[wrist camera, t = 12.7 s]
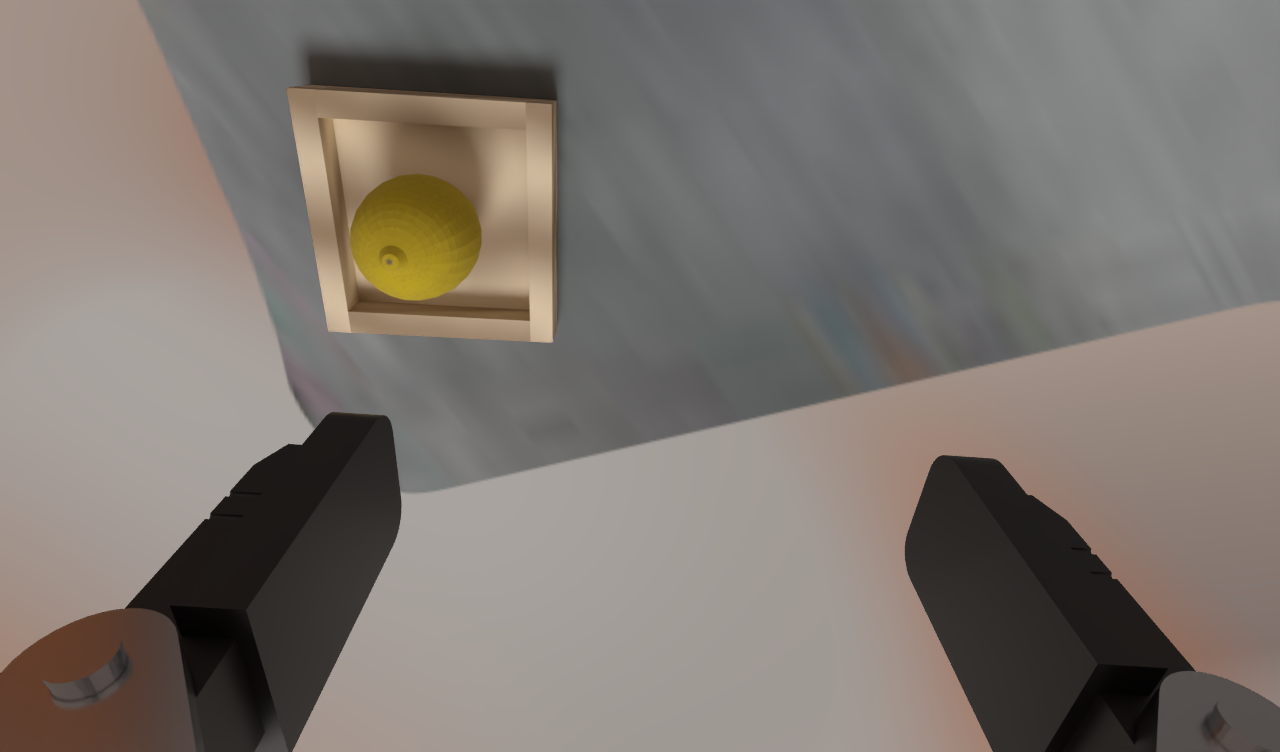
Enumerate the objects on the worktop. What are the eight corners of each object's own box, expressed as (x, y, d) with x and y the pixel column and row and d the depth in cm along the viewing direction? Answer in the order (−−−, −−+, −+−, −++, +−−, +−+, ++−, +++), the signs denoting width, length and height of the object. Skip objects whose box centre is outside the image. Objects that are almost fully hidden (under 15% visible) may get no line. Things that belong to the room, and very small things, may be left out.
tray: (310, 84, 32) (286, 87, 29) (557, 100, 32) (551, 104, 30) (346, 314, 37) (328, 331, 35) (557, 325, 37) (552, 342, 35)
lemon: (442, 138, 32) (385, 164, 25) (517, 227, 34) (485, 275, 27) (365, 206, 33) (291, 250, 26) (442, 288, 36) (392, 348, 28)
